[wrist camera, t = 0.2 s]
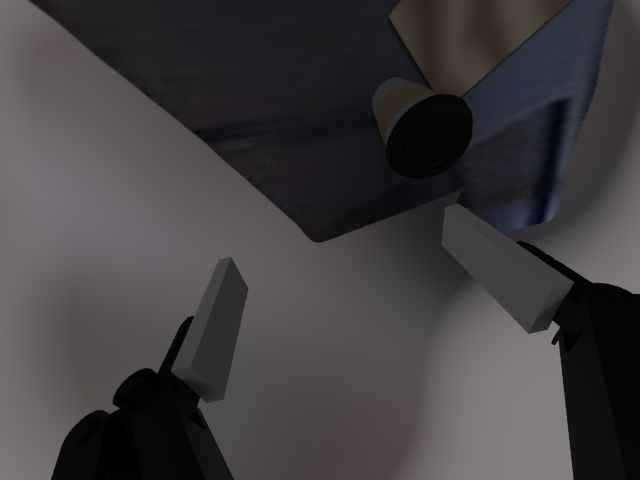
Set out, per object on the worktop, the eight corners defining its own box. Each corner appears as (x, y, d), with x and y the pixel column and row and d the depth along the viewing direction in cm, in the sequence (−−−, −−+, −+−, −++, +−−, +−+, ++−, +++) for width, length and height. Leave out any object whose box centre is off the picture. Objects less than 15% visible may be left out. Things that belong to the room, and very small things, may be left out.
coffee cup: (392, 139, 40) (430, 193, 30) (347, 115, 36) (374, 169, 26) (435, 82, 34) (499, 127, 24) (386, 45, 30) (440, 81, 20)
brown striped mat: (570, -215, 19) (576, -219, 18) (584, -16, 28) (588, -16, 27) (387, 16, 28) (389, 16, 27) (443, 108, 37) (445, 110, 36)
